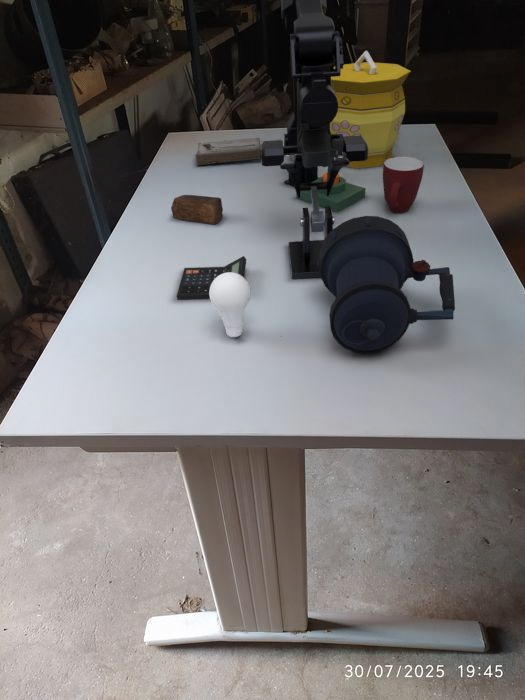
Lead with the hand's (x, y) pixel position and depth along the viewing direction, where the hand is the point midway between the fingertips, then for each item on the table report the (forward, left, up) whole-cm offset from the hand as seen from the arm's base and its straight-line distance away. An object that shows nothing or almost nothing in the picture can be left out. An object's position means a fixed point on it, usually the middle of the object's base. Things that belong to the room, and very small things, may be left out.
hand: (313, 196), depth 102 cm
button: (-10, +18, -5) cm, 21 cm away
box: (-48, +22, -9) cm, 54 cm away
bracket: (+6, -6, -9) cm, 12 cm away
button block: (-10, +18, -9) cm, 23 cm away
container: (-20, +43, -9) cm, 48 cm away
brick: (-26, -8, -9) cm, 29 cm away
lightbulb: (+11, -32, -9) cm, 35 cm away
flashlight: (+27, -15, -9) cm, 32 cm away
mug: (+6, +21, -9) cm, 24 cm away
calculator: (-3, -24, -9) cm, 26 cm away
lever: (+3, -3, -1) cm, 4 cm away
